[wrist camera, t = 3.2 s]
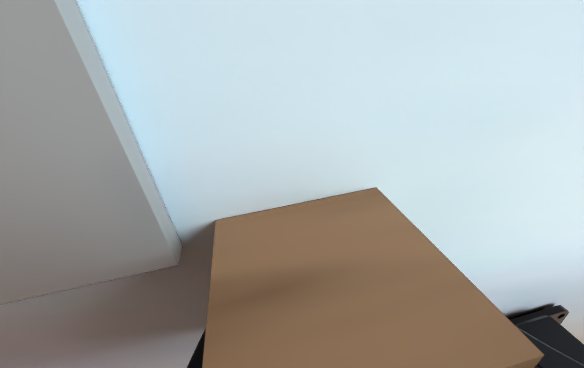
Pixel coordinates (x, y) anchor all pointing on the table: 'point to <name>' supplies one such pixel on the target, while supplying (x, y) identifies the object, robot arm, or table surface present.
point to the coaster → (69, 162)
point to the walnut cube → (347, 294)
